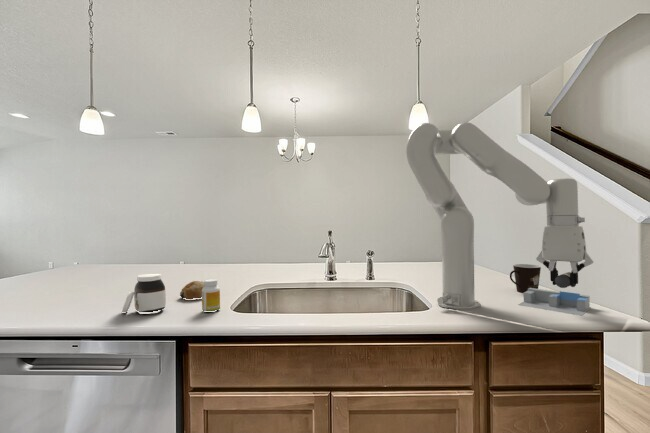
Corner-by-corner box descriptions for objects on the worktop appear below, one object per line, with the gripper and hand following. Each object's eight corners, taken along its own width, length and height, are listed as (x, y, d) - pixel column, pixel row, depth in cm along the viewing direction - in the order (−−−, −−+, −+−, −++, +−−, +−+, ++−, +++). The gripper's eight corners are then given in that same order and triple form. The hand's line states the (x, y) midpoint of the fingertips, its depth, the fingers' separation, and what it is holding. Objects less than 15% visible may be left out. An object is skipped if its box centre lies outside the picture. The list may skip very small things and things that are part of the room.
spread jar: (169, 312, 108) (168, 275, 108) (130, 320, 99) (129, 280, 99) (154, 305, 116) (153, 271, 116) (116, 313, 108) (115, 276, 107)
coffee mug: (533, 290, 128) (533, 264, 128) (546, 296, 120) (545, 267, 119) (501, 290, 129) (500, 264, 129) (511, 296, 121) (510, 267, 121)
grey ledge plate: (582, 317, 95) (581, 300, 95) (517, 306, 107) (517, 291, 107) (591, 309, 103) (590, 293, 103) (530, 299, 115) (530, 285, 115)
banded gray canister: (570, 288, 96) (568, 275, 97) (555, 288, 99) (553, 275, 99) (578, 284, 102) (576, 271, 102) (564, 284, 104) (562, 272, 105)
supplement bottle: (223, 309, 110) (223, 279, 109) (211, 314, 105) (211, 282, 105) (210, 307, 112) (210, 278, 112) (198, 312, 107) (197, 281, 107)
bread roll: (199, 311, 121) (208, 290, 121) (173, 299, 121) (182, 278, 121) (209, 304, 131) (217, 285, 131) (184, 292, 131) (193, 273, 131)
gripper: (601, 221, 96) (603, 286, 96) (534, 221, 108) (535, 279, 108) (595, 222, 90) (598, 291, 90) (526, 222, 103) (527, 283, 103)
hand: (564, 284), depth 99 cm, fingers closed on banded gray canister, 3 cm apart
